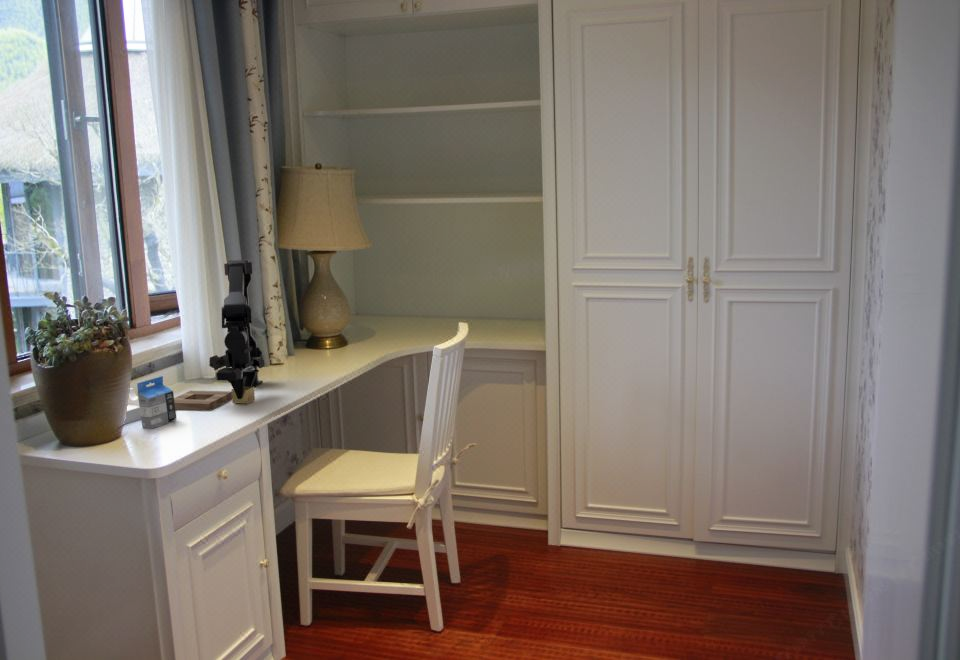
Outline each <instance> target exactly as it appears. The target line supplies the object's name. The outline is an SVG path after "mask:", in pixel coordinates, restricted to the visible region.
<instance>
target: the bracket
mask: <svg viewBox="0 0 960 660" xmlns="http://www.w3.org/2000/svg"><path fill="white" fill-rule="evenodd" d="M129 388H130V393H129V399H128V406H127V412H126V419H125V421H124V424H123V425H126V424H128V423H132V422H135V421H138V420H141V414H140V406H139V399H138V394H136V392H135V388H134V387H129Z"/></svg>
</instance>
